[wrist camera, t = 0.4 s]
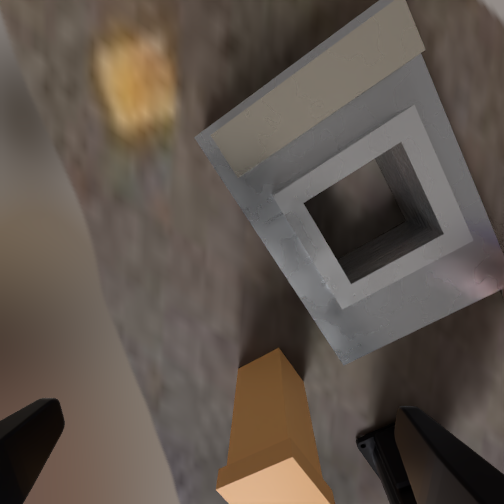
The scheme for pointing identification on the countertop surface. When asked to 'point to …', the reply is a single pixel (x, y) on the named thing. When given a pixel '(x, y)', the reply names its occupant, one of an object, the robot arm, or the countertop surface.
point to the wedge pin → (272, 439)
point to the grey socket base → (347, 161)
